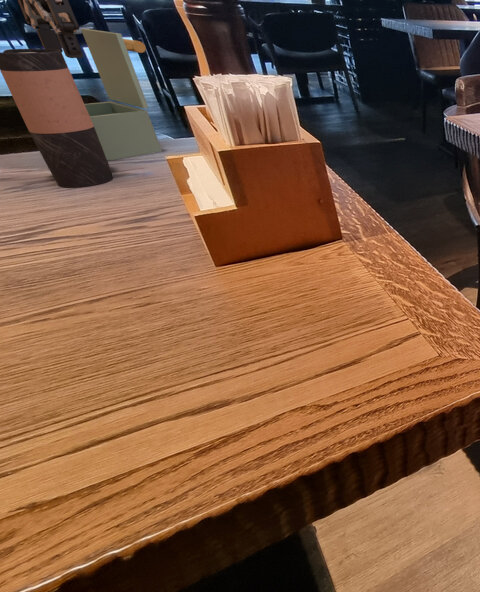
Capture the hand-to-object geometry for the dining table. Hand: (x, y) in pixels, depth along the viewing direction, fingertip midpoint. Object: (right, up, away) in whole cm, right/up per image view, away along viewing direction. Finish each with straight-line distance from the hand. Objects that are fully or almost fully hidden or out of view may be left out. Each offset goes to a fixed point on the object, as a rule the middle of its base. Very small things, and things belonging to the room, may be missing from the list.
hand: (65, 55), depth 91 cm
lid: (+3, 0, +5) cm, 6 cm away
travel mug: (+7, -23, -3) cm, 24 cm away
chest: (0, -16, +9) cm, 18 cm away
